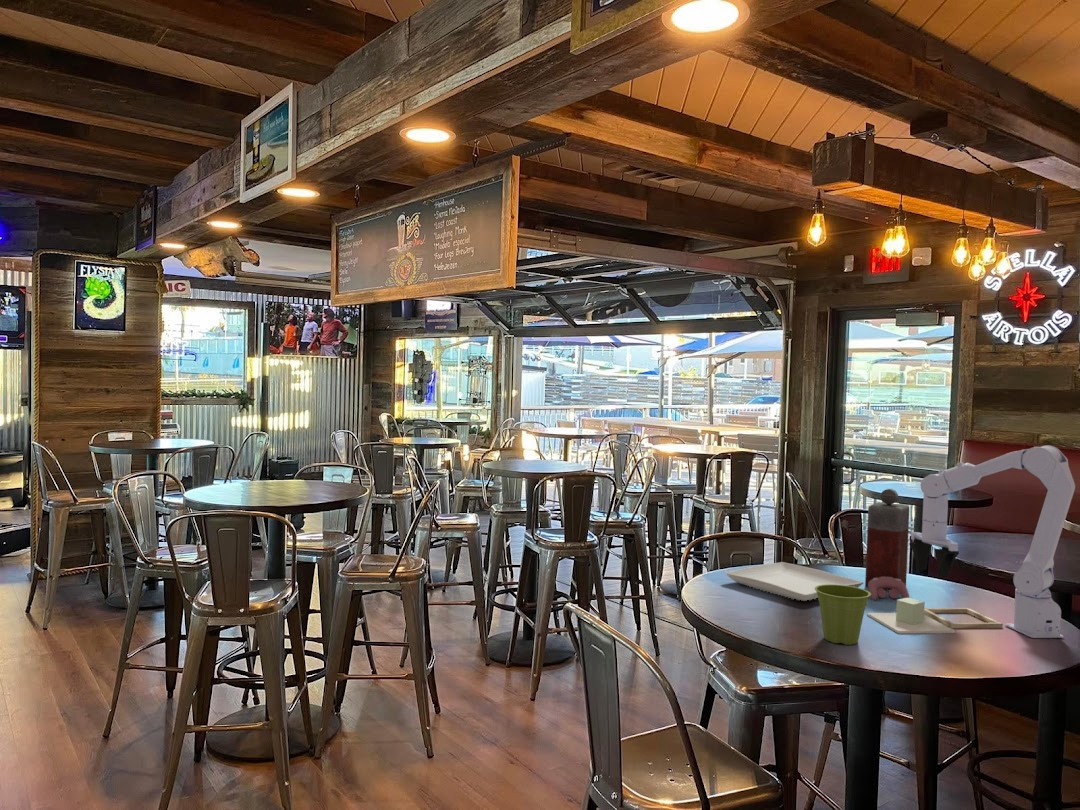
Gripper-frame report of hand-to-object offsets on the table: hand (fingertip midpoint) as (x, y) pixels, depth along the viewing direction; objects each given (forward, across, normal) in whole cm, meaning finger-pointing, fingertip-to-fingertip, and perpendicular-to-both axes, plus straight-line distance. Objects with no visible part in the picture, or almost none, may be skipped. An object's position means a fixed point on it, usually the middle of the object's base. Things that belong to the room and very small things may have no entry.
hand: (932, 573), depth 204 cm
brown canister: (+10, +23, -4) cm, 25 cm away
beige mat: (+9, -10, +14) cm, 20 cm away
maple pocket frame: (+9, -9, -1) cm, 13 cm away
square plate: (+10, +25, +25) cm, 36 cm away
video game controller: (+10, +10, +5) cm, 15 cm away
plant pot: (+10, -18, +39) cm, 44 cm away
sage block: (+9, -10, +14) cm, 20 cm away
